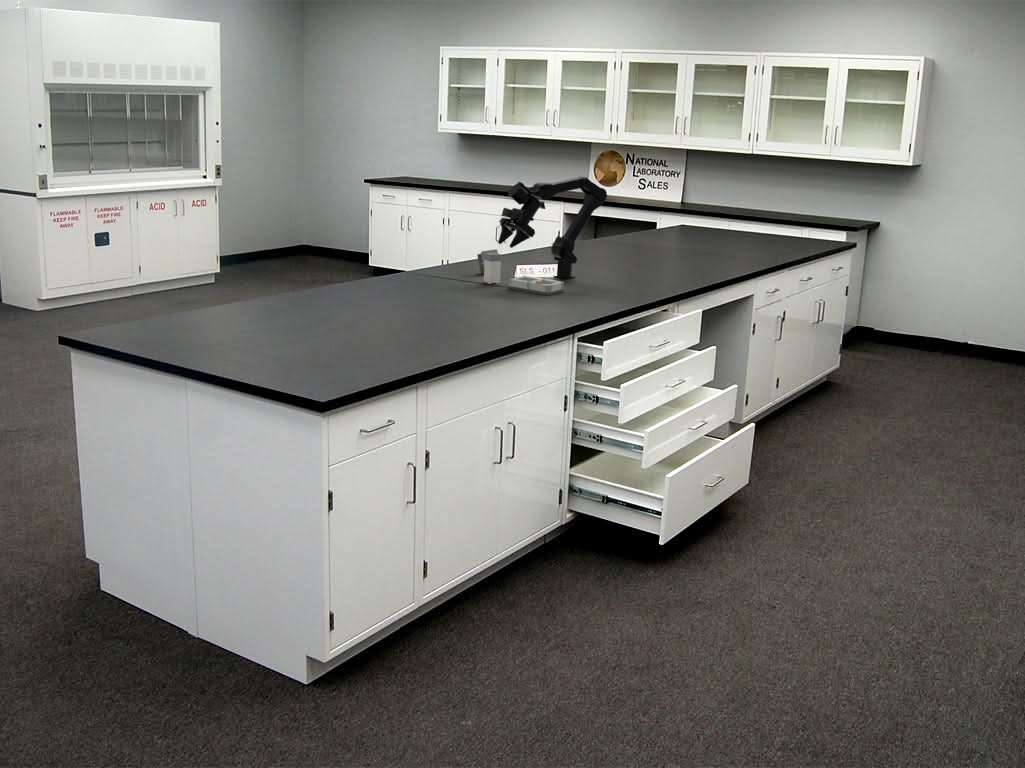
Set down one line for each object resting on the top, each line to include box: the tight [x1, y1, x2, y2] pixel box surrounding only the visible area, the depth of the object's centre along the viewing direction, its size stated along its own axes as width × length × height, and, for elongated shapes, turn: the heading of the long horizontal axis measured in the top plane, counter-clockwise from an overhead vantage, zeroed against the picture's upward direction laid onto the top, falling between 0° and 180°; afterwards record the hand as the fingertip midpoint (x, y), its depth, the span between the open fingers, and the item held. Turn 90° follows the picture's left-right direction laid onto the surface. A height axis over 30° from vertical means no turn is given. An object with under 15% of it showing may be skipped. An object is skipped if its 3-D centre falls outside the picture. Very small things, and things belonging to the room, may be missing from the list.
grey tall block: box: [483, 252, 502, 285], centre depth 383 cm, size 4×4×11 cm
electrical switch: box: [477, 248, 502, 274], centre depth 404 cm, size 9×5×9 cm, turn 141°
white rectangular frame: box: [508, 275, 565, 296], centre depth 374 cm, size 10×18×4 cm, turn 56°
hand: (504, 245), depth 385 cm, fingers open, 9 cm apart
